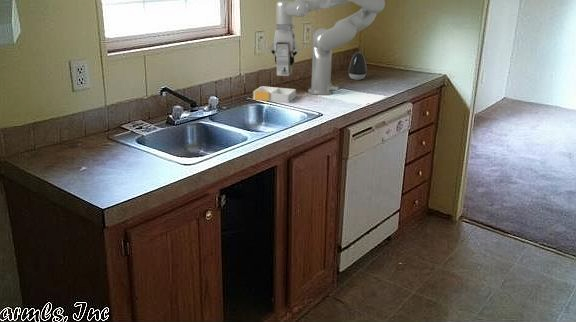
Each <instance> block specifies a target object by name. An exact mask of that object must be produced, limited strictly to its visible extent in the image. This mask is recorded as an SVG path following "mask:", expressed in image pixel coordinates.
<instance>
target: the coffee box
mask: <svg viewBox="0 0 576 322" xmlns="http://www.w3.org/2000/svg"><path fill="white" fill-rule="evenodd" d="M290 57H291V55H290V43H286V42H277V43H276V62H277V64H276V76H277V77H278V76H281V77H282V76H283V77H289V76H290V75H291V74H292V73H293V65H290ZM276 62H275V63H276Z"/></svg>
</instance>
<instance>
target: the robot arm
mask: <svg viewBox="0 0 576 322" xmlns="http://www.w3.org/2000/svg"><path fill="white" fill-rule="evenodd" d="M348 3H353V4H355V5H357V6H359V7H361V8H360V9H359V10H357V11H356V12H354V13H352V14H350V15H348V16H347V17H345V18H342V19H339V20H338V21H336V22H335V24H334V26H332V27H331V28H328V29H327V28H324V27H322V28H319V29H317V30H315V31H314V33H313V34H312V35H313V36H312V62H311V64H312V65H311V85H310V86H311V87H309V88H308V90H307V92H308V93H309V94H311V95H316V96H317V95H318V96H326V95H331V94H333V93H334V91H337V92H338V91H339V88H340V87H339V86H337V85H333V84H332V82H331V79H332V78H331V77H332V61H333V59H332V58H333V50H334V49H336V48H338V47H340V46H343V45H345V44H347V43H349V42H350V41H352V40H353V39H354V37H355V36H356V34H357V33H358V32H360V31H362V30H363V29H365V28H367V27H368V26H370V25H371V24H372V23H373V22H374V21H375V19H376V16H377V14H378V13H381V12H383V10H384V9H385V7H386V1H385V0H293V1H290V0H278V1H277V2H276V4H275V5H276V6H275V7H276V9H275V14H276V17H275V18H276V19H275V20H276V25H275V27H276V29H275V30H274V35H273V37H274V38H273V43H272V44H271V45H270V46H268V50H269V51H270V52H271V54H273V56H274V62H275V65H277V62H276V43H277V42H286V43H290V55H291V57H290V65H292V66H293V65H294V63H295V56H296V55H297V54H298V53H299V52H300V51H301V48H300V47H299V46H298V45H297V44H296V34H295V30H294V29H295V28H296V25H294V24H293V17H295V18H303V17H305V16H307V15H308V13H310V12H313V11H318V10H323V9H324V10H327V9H333V8H335V7H339V6H341V5H342V6H343V5H344V4H348Z"/></svg>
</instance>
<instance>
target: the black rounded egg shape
mask: <svg viewBox="0 0 576 322" xmlns="http://www.w3.org/2000/svg"><path fill="white" fill-rule="evenodd" d="M347 72H348V75H349V78H350V79H351V80H353V79H354V81H361V79H362V80H363V79H365V77H366V76H367V63H366V58H365V56H364V52H363V51H362V52H360V51H358V52H354V54H353V56H352V57H351V60H350V63H349V65H348V71H347Z"/></svg>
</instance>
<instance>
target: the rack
mask: <svg viewBox="0 0 576 322" xmlns="http://www.w3.org/2000/svg"><path fill="white" fill-rule="evenodd" d="M295 98H297V89H296V88H286V87H276V86H275V87H274V86H265V85H263V86H262V85H261V86H259V87H257V88H256V89H255V90H252V100H255V101H263V102H264V101H265V102H276V103H277V102H278V103H285V104H287V103H288V104H289V103H290V102H291V101H293V100H294V99H295Z"/></svg>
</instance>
